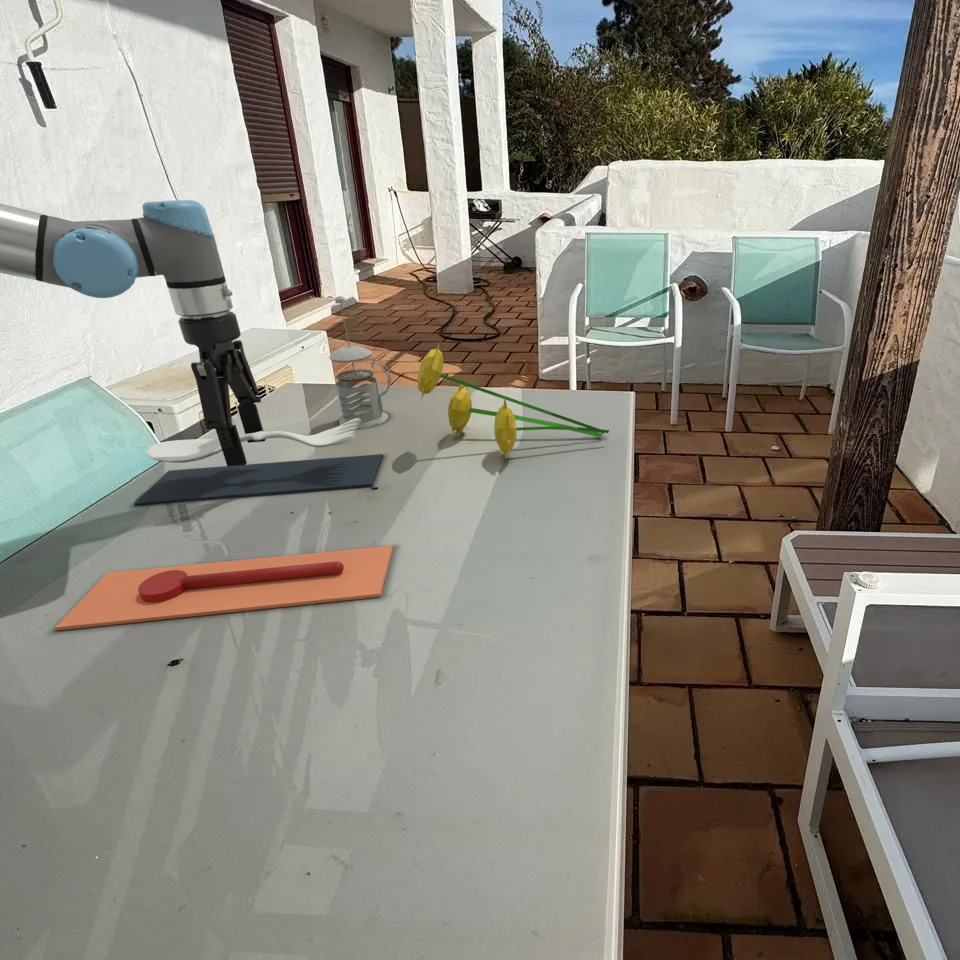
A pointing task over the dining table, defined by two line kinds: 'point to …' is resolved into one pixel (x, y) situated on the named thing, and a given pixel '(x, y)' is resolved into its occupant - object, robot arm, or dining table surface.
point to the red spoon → (226, 579)
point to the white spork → (208, 447)
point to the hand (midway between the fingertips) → (247, 452)
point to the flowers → (504, 417)
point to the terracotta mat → (232, 589)
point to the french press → (367, 410)
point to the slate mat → (263, 479)
